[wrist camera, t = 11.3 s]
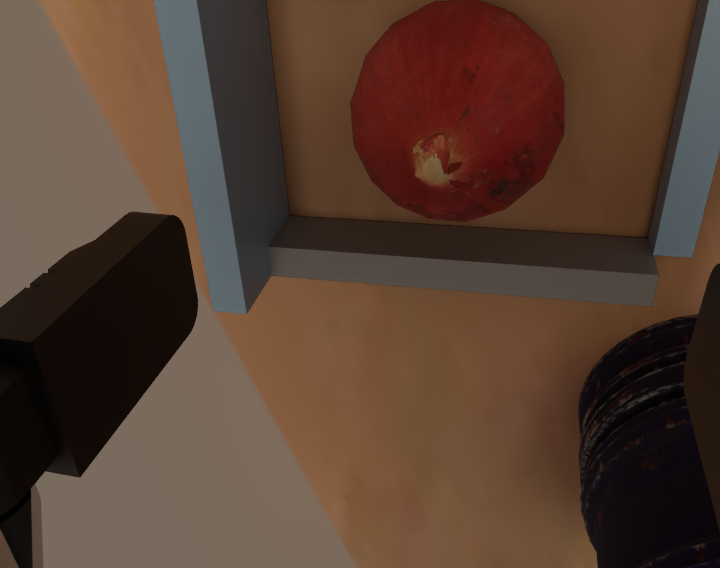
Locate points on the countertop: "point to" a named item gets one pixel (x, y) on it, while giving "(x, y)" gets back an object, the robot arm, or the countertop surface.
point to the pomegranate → (458, 110)
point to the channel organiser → (392, 239)
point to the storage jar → (645, 457)
